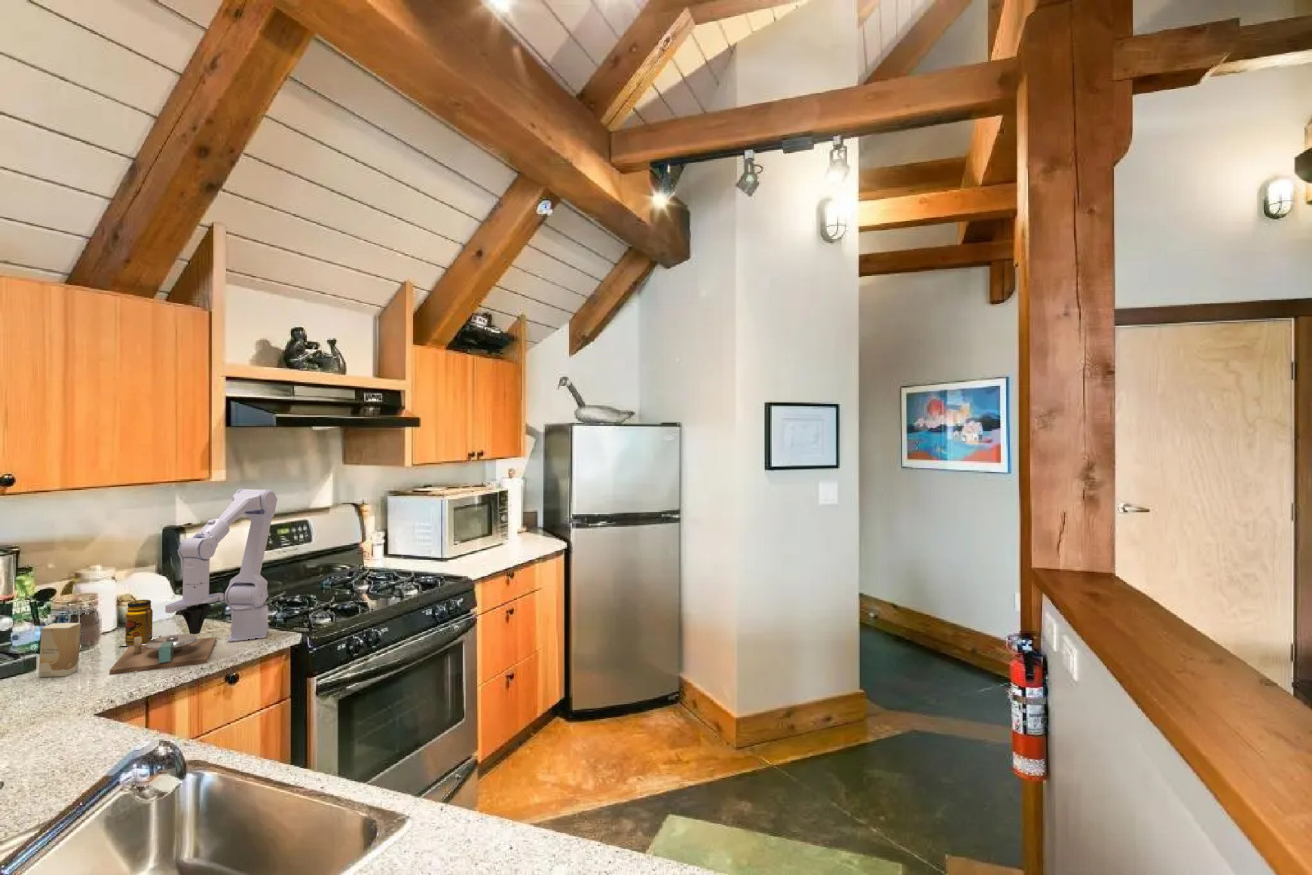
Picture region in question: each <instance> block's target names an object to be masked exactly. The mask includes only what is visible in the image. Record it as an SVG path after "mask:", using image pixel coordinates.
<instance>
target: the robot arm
mask: <svg viewBox="0 0 1312 875" xmlns="http://www.w3.org/2000/svg"><path fill="white" fill-rule="evenodd" d="M231 498H232V499H231V503H230V504H229V505H228V506H227V507H226V509H225V510H224V511H223V512H222V513H221V515H220V516H218V518H212V519H209V520H208V521H207V522H206V524H204V525H203V527H201V529H199V531H197V532H196V533H195V534H194V535H193V536H192V537H187V538H186V539H184V540H183V541H182V542H181V543H180V545H179V547H178V549H177V555H178V557H179V558H180V564H181V566H182V570H183V571H182V599H180V600H177V601H175V602H172V603H169V604H165V606H164V607H165V611H164V612H165V613H166V614H173V613H176V612H178V611H179V613H180V614H181V615H182V617H183V618H184V621H185V623H186V625H187V628H188V632H189V634H192V635H198V634H201V631H202V627H203V625H204V621H205V619H206V618H207V615H208V614H209V613H210V611H211V609H212V605H211V603H215V602H222V601H224V602H225V604H226V605H227V606H228V609H231V613H230V614H231V618H230V622H231V623H230V635H229V636H228V639H227V642H240V641H247V640H248V639H250V640H255V638H258V639H265V637H266V638H267V635H268V631H269V622H268V621H269V618H268V617H269V606H268V605H267V604H266V605H263V604H265V602H266V601H267V599H268V594H269V593H268V583H269V582H268V580H267V579H265V577H263V576H262V575H261V572H262V567H263V562H264V557H265V552H266V549H267V544H268V538H269V534H270V529H271V523H272V519H273V518H274V517H275V513H276V507H277V502H278V498H277V496H276V493H275V492H274V490H272V489H269V488H268V489H251V488H249V489H247V488H239V489H238V490H237V491H236V492H235V493H234V494H233V495H232V497H231ZM242 516H245V517H246V518H248V520H249V521H250V525H249V529H248V534H247V537H246V538H247V539H246V542H245V546H244V547H245V548H244V552H243V557H242V561H241V565H240V570H239V573H238V574H237V575H235V576H234V577H232V578H231V579H230V580H229V584H228V587H227V588H226V590H225V591H224V593H223V592H217V593H210V560H211V558H213V557H214V555H215V554H216V550H217V547H218V545H219V543H220V542H221V541H222V540H223V539H224V538H225V537H226V536H227V535H228V534H229V532H230V526H231V525H233V523H234V522H236V521H237V520H238V519H240V517H242Z"/></svg>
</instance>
